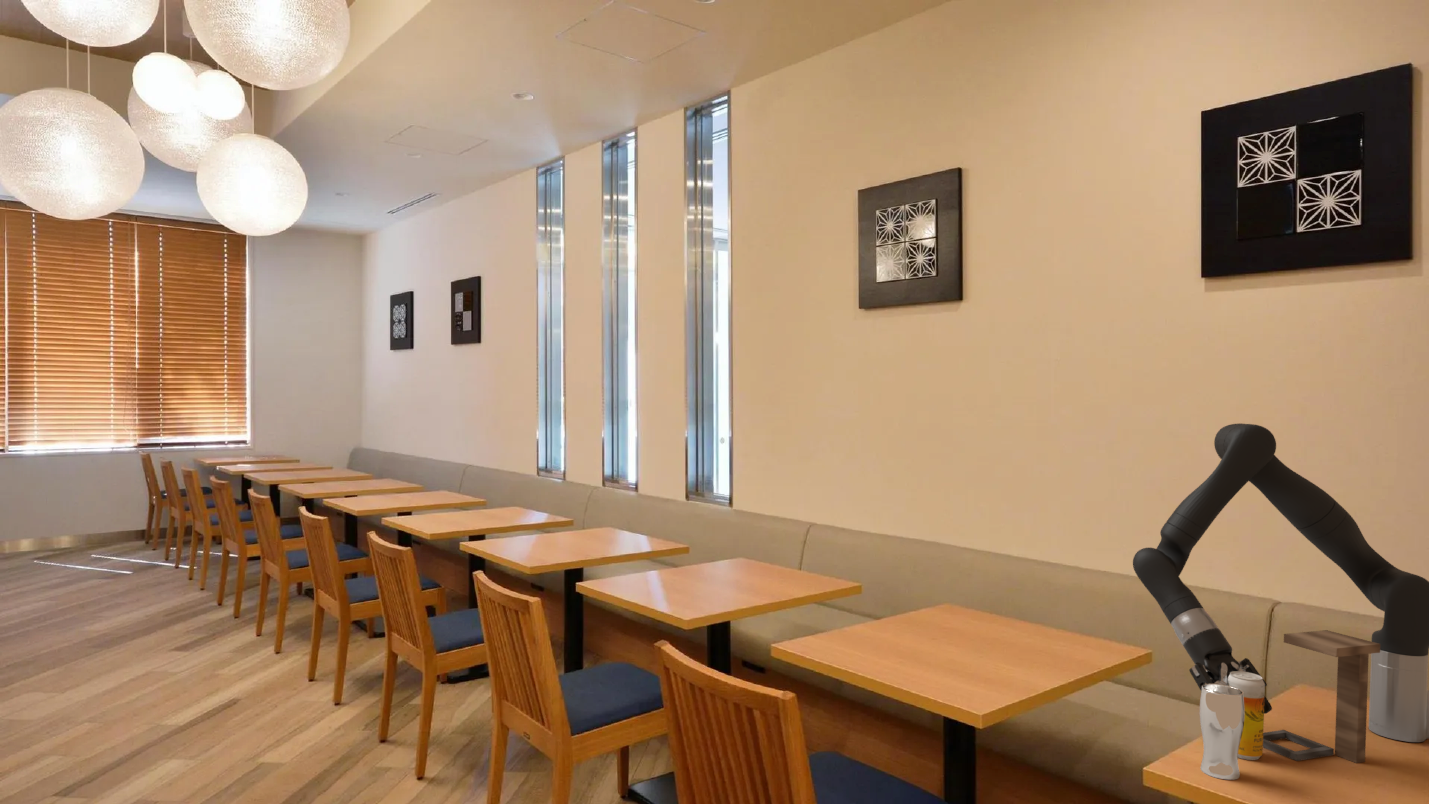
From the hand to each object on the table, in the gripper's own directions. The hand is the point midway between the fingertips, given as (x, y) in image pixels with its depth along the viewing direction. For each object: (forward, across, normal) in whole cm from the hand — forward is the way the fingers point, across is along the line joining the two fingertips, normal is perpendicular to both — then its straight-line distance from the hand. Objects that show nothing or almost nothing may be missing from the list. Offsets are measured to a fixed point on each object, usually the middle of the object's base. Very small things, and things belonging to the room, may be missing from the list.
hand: (1251, 714), depth 166 cm
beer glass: (+8, -12, +3) cm, 15 cm away
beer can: (+5, 0, +7) cm, 9 cm away
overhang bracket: (+7, +14, +4) cm, 16 cm away
